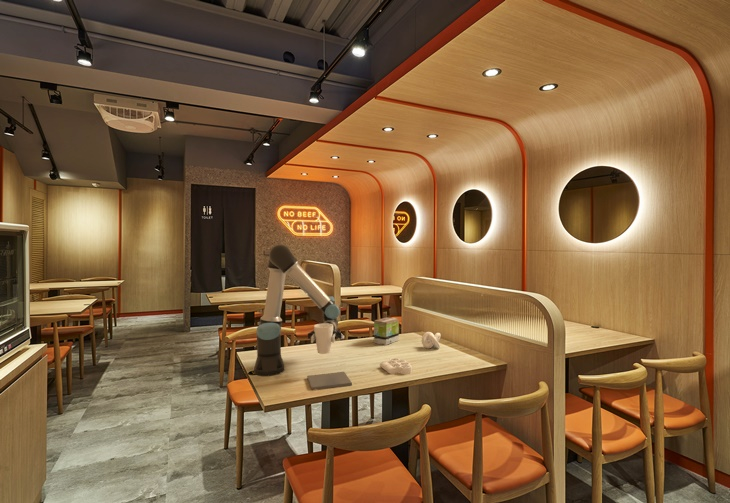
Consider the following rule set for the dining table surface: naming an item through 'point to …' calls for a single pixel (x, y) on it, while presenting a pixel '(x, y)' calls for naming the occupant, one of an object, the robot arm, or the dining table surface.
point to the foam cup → (323, 337)
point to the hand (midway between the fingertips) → (322, 340)
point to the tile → (329, 380)
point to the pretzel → (431, 340)
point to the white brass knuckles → (396, 366)
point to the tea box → (386, 330)
